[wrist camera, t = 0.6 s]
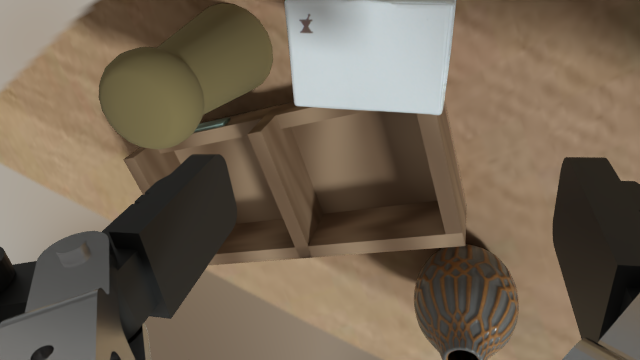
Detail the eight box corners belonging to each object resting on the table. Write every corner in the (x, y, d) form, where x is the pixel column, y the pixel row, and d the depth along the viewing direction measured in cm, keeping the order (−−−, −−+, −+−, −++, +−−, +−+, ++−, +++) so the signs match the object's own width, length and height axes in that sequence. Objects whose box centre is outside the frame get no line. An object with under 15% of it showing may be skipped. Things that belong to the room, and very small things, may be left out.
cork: (206, -16, 29) (87, 24, 20) (287, 35, 29) (204, 96, 20) (181, 63, 33) (69, 126, 24) (253, 107, 33) (169, 187, 24)
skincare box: (353, 34, 28) (288, 107, 18) (353, -42, 26) (279, -5, 16) (455, 37, 27) (443, 119, 17) (464, -44, 24) (456, -3, 15)
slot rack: (437, 65, 28) (431, 92, 24) (466, 204, 32) (465, 245, 28) (158, 130, 36) (121, 157, 33) (211, 232, 41) (184, 267, 37)
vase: (408, 236, 35) (390, 324, 28) (503, 222, 32) (511, 316, 25) (433, 302, 38) (423, 398, 30) (523, 294, 35) (535, 398, 28)
